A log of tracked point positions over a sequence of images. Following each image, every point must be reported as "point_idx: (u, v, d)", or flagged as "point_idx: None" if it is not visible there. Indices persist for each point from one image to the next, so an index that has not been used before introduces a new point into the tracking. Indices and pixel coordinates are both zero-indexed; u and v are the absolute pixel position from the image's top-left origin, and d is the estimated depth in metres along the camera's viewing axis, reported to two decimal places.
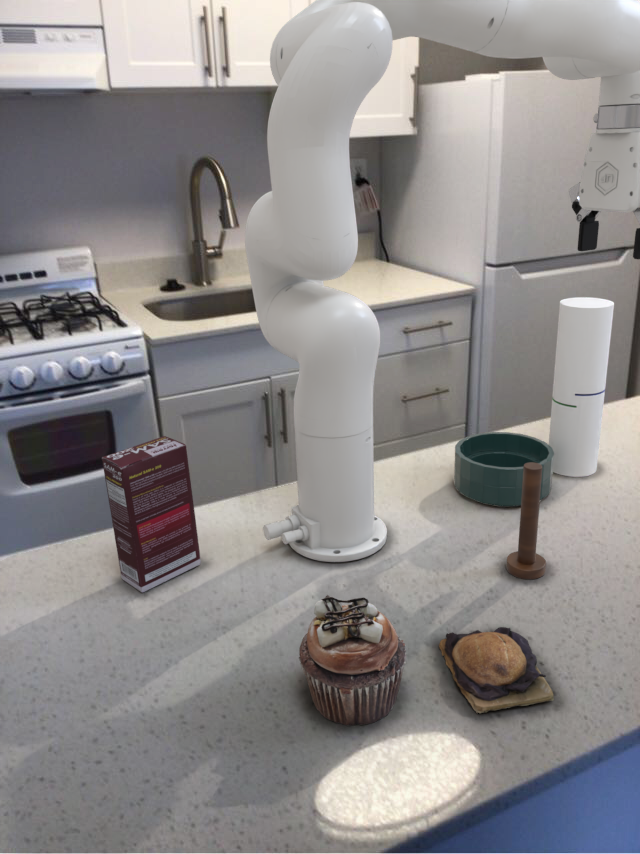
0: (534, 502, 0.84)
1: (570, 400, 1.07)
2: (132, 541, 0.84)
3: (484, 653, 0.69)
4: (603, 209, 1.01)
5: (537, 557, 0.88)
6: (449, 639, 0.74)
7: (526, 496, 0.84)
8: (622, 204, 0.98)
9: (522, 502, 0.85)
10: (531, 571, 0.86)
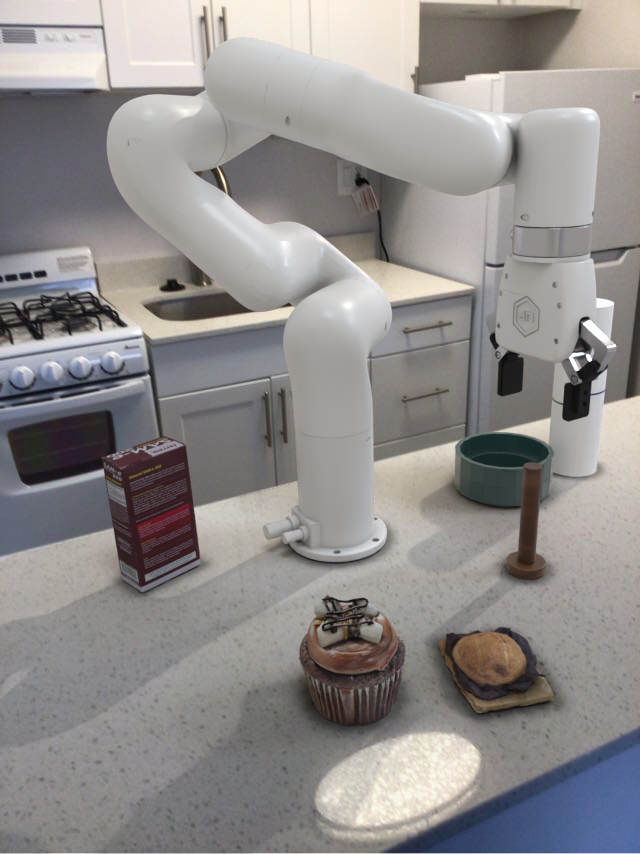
0: (534, 502, 0.84)
1: None
2: (132, 541, 0.84)
3: (484, 653, 0.69)
4: (524, 353, 0.78)
5: (537, 557, 0.88)
6: (449, 639, 0.74)
7: (526, 496, 0.84)
8: (546, 353, 0.75)
9: (522, 502, 0.85)
10: (531, 571, 0.86)
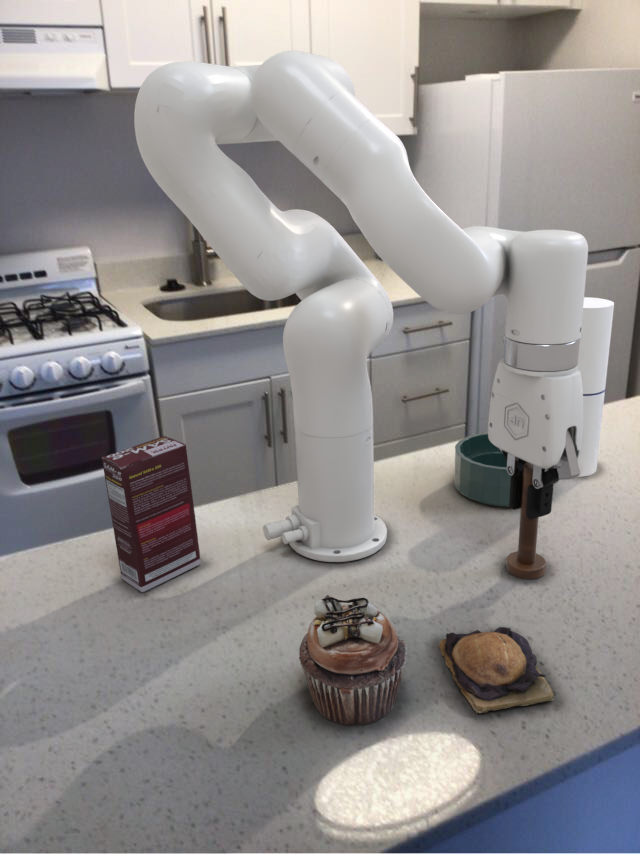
0: None
1: None
2: (132, 541, 0.84)
3: (484, 653, 0.69)
4: (514, 455, 0.82)
5: (537, 557, 0.88)
6: (449, 639, 0.74)
7: (526, 496, 0.84)
8: (534, 458, 0.79)
9: (522, 502, 0.85)
10: (531, 571, 0.86)
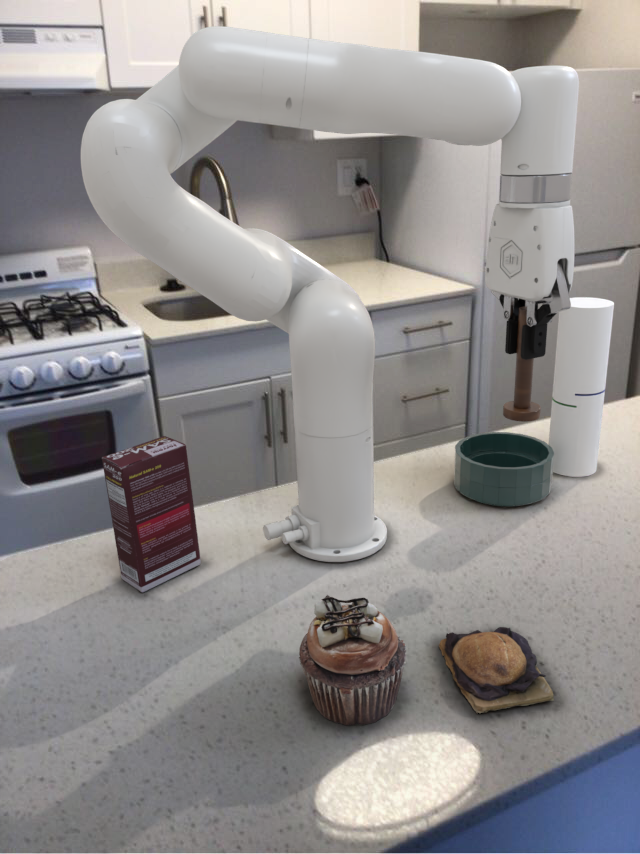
0: None
1: (570, 400, 1.07)
2: (132, 541, 0.84)
3: (484, 653, 0.69)
4: (509, 294, 0.85)
5: (533, 404, 0.92)
6: (449, 639, 0.74)
7: (521, 337, 0.88)
8: (527, 291, 0.82)
9: (518, 345, 0.88)
10: (526, 413, 0.89)
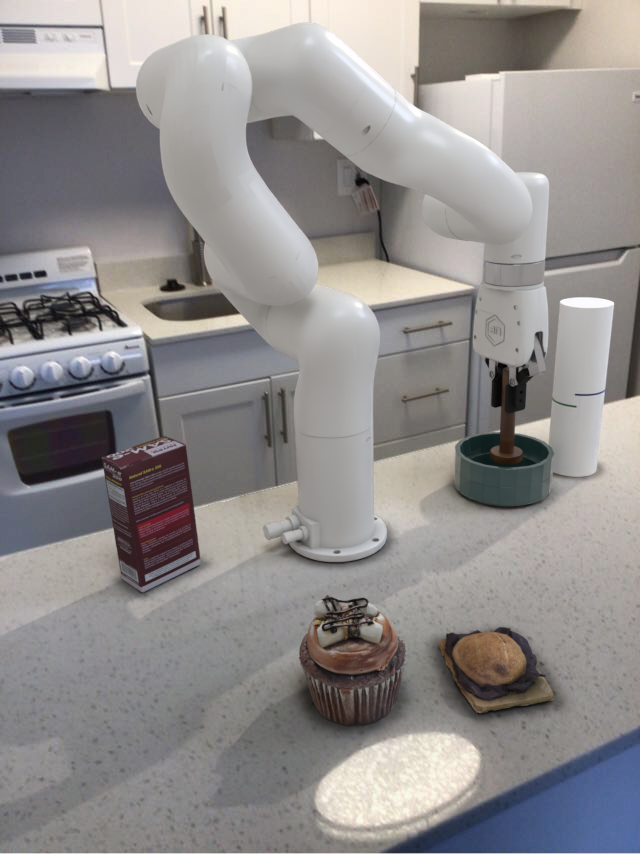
0: None
1: (570, 400, 1.07)
2: (132, 541, 0.84)
3: (484, 653, 0.69)
4: (493, 359, 1.00)
5: (515, 448, 1.07)
6: (449, 639, 0.74)
7: None
8: (509, 359, 0.97)
9: (502, 400, 1.03)
10: (510, 458, 1.04)
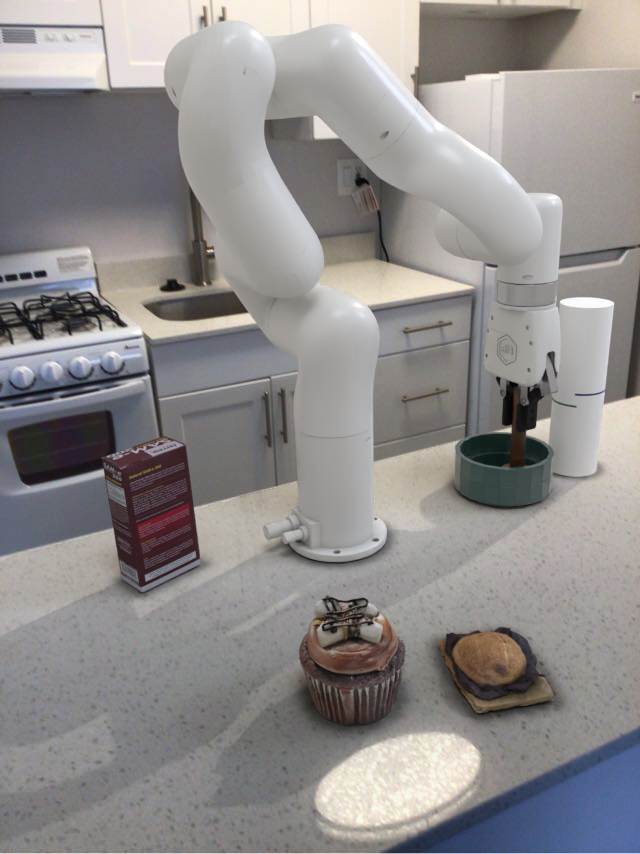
0: None
1: (570, 400, 1.07)
2: (132, 541, 0.84)
3: (484, 653, 0.69)
4: (505, 378, 1.00)
5: None
6: (449, 639, 0.74)
7: None
8: (521, 378, 0.97)
9: (513, 419, 1.03)
10: None
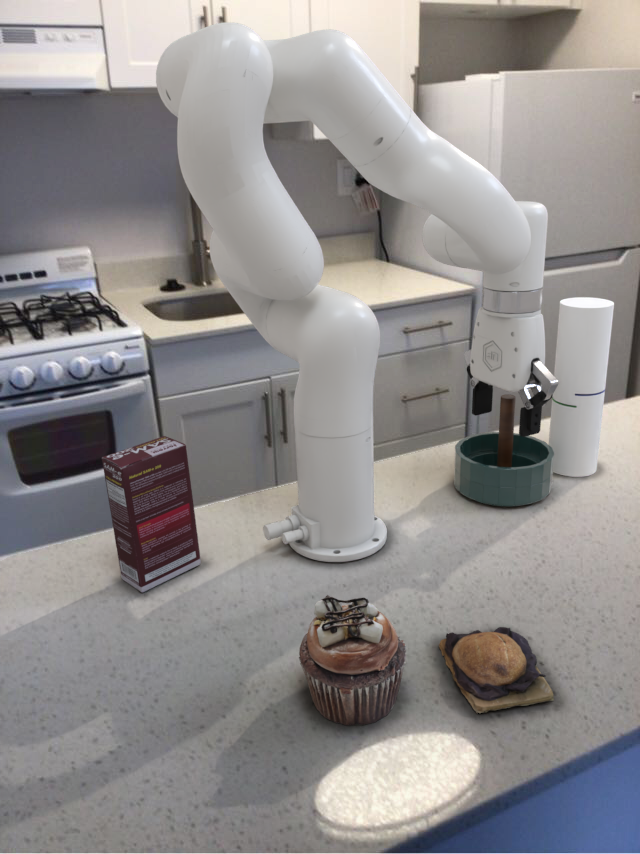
0: (509, 426, 1.04)
1: (570, 400, 1.07)
2: (132, 541, 0.84)
3: (484, 653, 0.69)
4: (490, 384, 1.01)
5: None
6: (449, 639, 0.74)
7: (502, 421, 1.04)
8: (506, 384, 0.98)
9: (500, 427, 1.05)
10: None
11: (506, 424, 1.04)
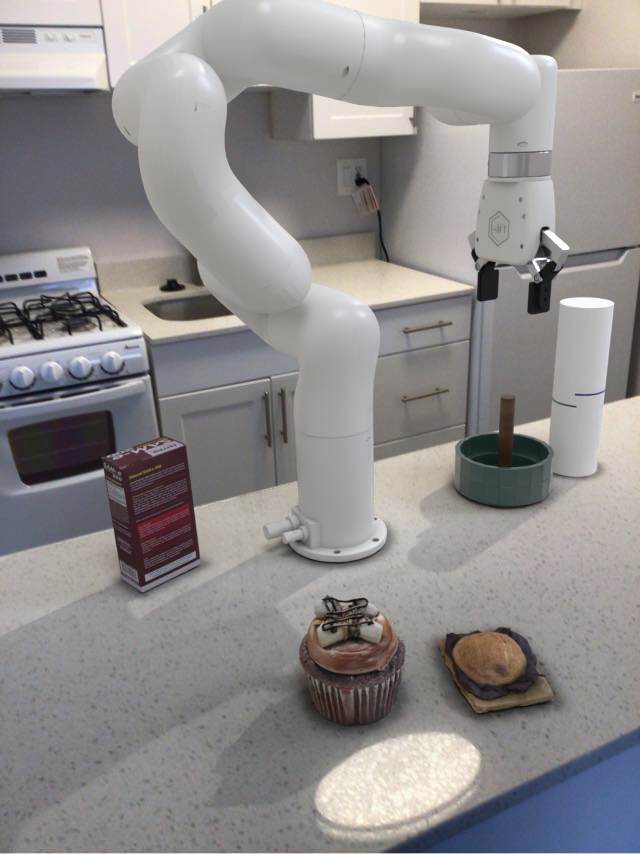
0: (509, 426, 1.04)
1: (570, 400, 1.07)
2: (132, 541, 0.84)
3: (484, 653, 0.69)
4: (497, 260, 0.95)
5: None
6: (449, 639, 0.74)
7: (502, 421, 1.04)
8: (514, 257, 0.92)
9: (500, 427, 1.05)
10: None
11: (506, 424, 1.04)
